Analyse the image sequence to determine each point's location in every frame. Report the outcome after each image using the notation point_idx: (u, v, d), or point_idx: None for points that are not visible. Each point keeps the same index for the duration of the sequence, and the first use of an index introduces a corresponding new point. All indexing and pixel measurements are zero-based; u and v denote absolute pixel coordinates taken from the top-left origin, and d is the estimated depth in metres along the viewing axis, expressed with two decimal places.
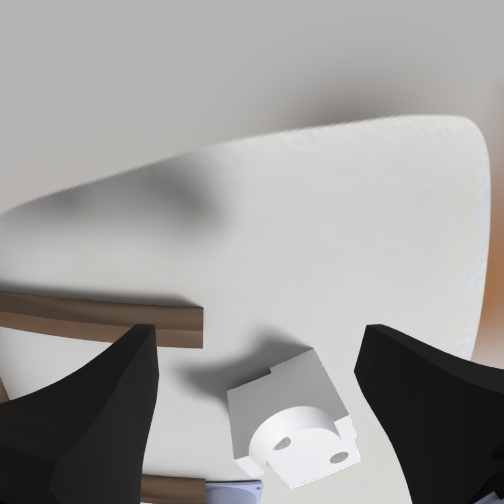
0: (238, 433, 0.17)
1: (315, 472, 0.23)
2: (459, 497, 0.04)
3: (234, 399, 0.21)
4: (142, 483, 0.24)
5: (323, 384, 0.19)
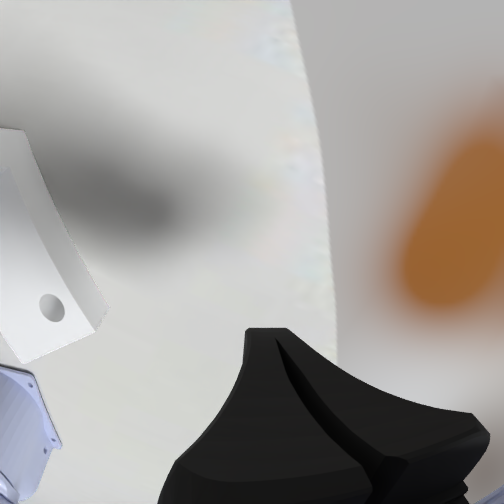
0: None
1: (34, 333, 0.15)
2: None
3: None
4: None
5: None
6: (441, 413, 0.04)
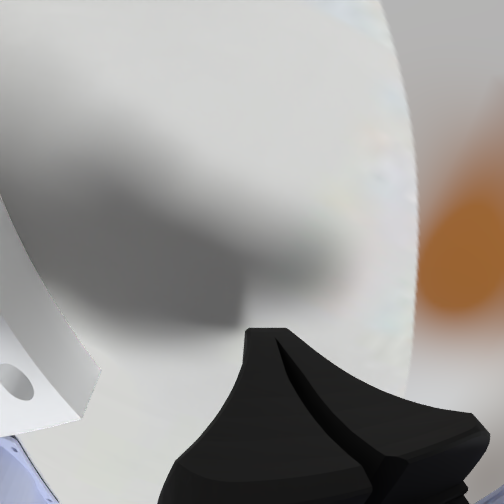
0: None
1: None
2: None
3: None
4: None
5: None
6: (441, 413, 0.04)
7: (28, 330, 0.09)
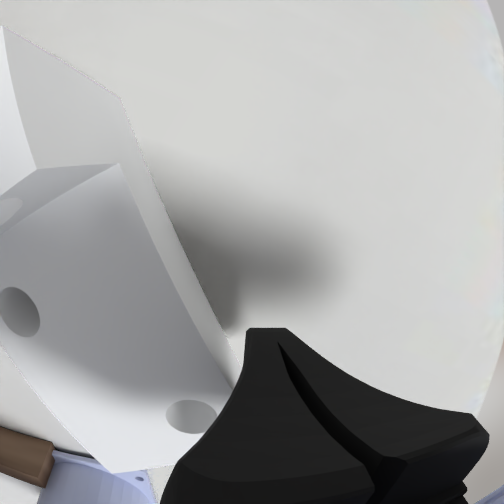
0: None
1: (144, 445, 0.10)
2: None
3: None
4: None
5: None
6: (440, 414, 0.04)
7: (222, 361, 0.10)
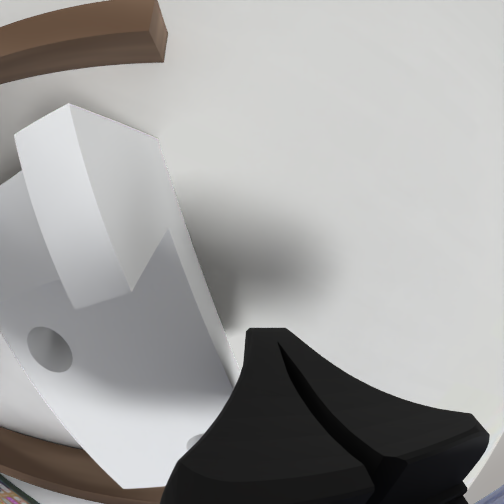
0: None
1: (161, 467, 0.10)
2: None
3: None
4: (62, 460, 0.12)
5: None
6: (440, 414, 0.04)
7: None
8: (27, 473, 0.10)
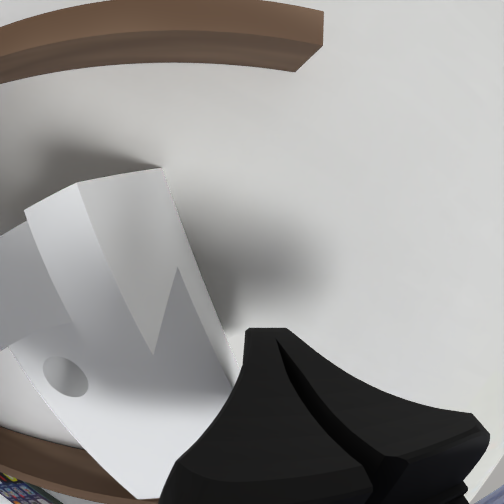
0: None
1: None
2: None
3: None
4: None
5: None
6: (441, 413, 0.04)
7: None
8: (100, 492, 0.11)
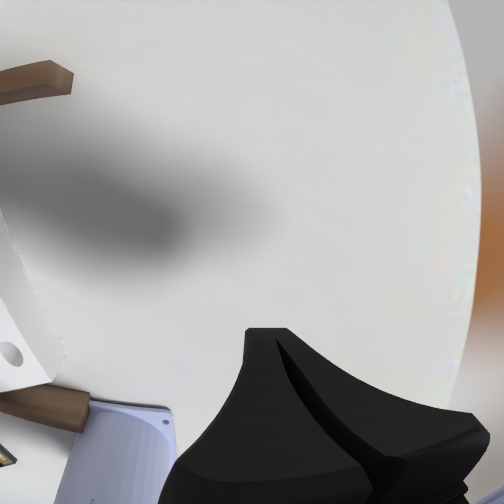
0: None
1: None
2: None
3: None
4: None
5: None
6: (441, 413, 0.04)
7: (23, 321, 0.14)
8: None
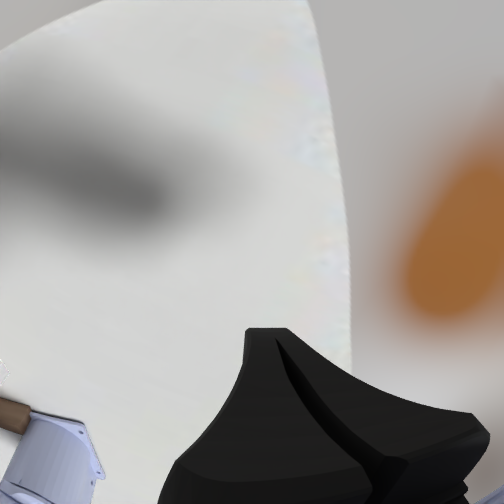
0: None
1: None
2: None
3: None
4: None
5: None
6: (441, 413, 0.04)
7: None
8: None
